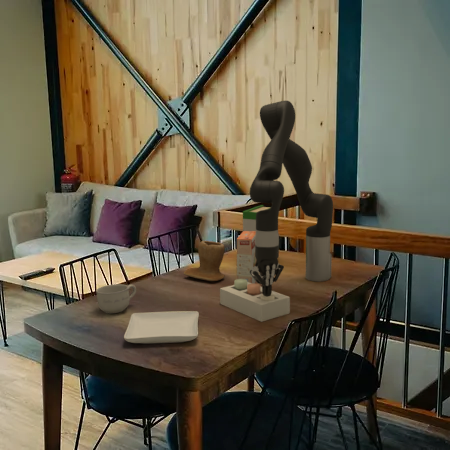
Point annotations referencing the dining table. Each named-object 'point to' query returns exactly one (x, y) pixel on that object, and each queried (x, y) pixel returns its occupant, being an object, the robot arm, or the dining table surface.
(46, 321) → the dining table surface
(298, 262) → the dining table surface
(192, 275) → the brown boot
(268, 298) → the ivory button
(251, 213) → the hardback book
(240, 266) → the cracker box
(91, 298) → the dining table surface
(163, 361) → the dining table surface
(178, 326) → the salad plate
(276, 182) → the robot arm
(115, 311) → the teacup
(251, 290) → the terracotta button
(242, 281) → the sage button
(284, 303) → the console
